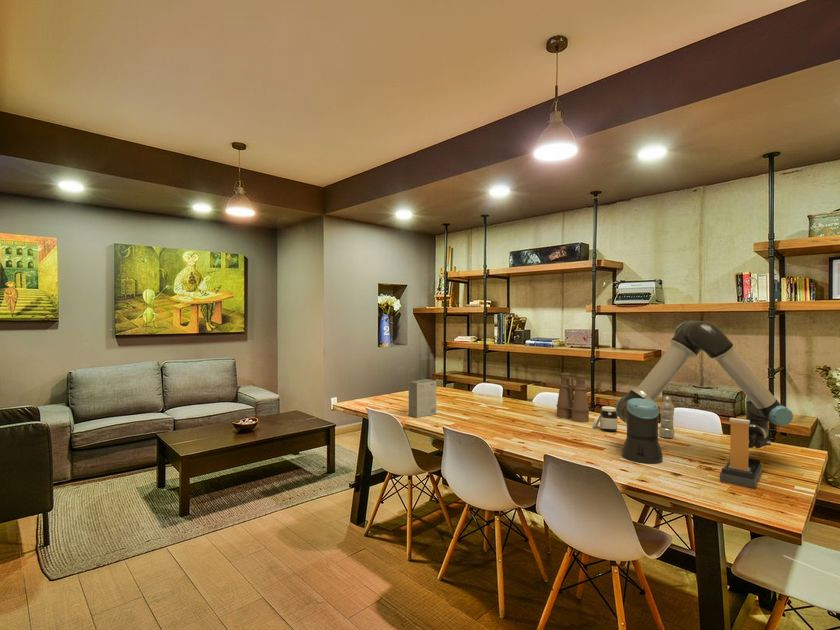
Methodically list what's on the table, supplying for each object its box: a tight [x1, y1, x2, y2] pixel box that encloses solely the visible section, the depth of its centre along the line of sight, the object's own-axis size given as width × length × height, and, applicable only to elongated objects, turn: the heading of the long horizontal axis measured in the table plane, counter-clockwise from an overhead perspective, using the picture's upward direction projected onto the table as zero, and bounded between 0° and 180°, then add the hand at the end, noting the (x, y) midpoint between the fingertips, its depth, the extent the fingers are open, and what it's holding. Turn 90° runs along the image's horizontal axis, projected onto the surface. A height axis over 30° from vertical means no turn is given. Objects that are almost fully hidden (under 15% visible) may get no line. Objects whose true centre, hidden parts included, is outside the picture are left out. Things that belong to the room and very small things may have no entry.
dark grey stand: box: [719, 457, 763, 490], centre depth 166 cm, size 22×10×5 cm, turn 138°
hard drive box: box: [408, 378, 437, 418], centre depth 264 cm, size 16×8×20 cm, turn 130°
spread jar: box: [592, 405, 618, 433], centre depth 235 cm, size 12×11×12 cm
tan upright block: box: [728, 417, 751, 473], centre depth 162 cm, size 5×6×18 cm
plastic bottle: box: [658, 395, 675, 439], centre depth 220 cm, size 6×7×20 cm
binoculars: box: [555, 372, 591, 423], centre depth 260 cm, size 21×10×25 cm, turn 31°
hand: (744, 447), depth 169 cm, fingers closed
